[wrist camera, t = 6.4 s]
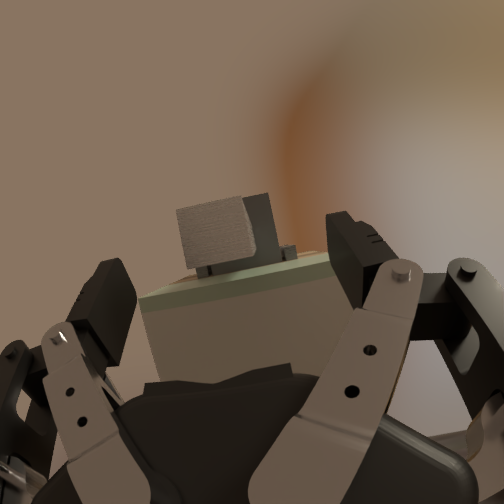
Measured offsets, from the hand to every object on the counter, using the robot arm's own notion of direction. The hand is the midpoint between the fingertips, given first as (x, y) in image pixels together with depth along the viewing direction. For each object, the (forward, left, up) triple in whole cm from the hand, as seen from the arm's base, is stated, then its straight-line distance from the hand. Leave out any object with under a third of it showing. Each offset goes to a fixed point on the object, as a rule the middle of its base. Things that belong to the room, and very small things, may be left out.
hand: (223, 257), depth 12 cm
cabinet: (-4, +15, -34) cm, 37 cm away
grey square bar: (-3, +10, -2) cm, 11 cm away
